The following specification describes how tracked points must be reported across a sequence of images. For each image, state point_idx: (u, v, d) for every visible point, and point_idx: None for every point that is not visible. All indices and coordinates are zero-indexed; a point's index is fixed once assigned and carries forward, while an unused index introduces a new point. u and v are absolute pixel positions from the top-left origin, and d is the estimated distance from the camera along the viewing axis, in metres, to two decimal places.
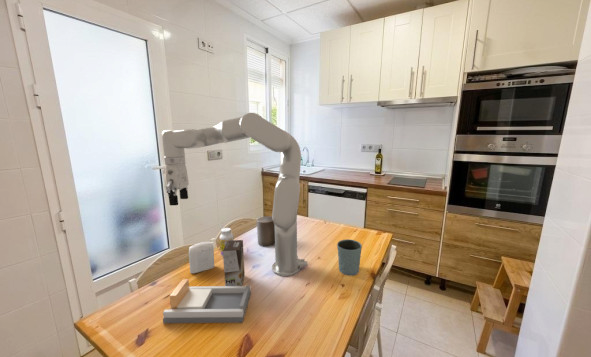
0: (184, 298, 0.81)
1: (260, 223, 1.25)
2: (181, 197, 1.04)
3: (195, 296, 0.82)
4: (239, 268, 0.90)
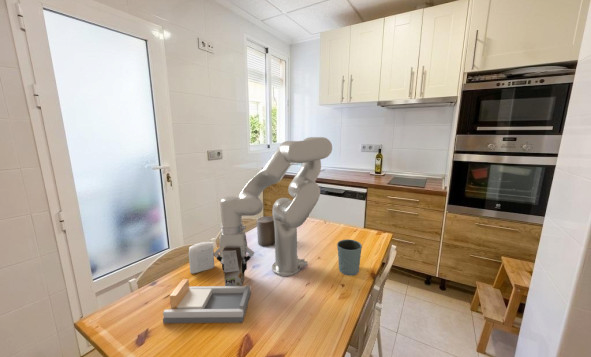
0: (184, 298, 0.81)
1: (260, 223, 1.25)
2: None
3: (195, 296, 0.82)
4: (239, 268, 0.90)
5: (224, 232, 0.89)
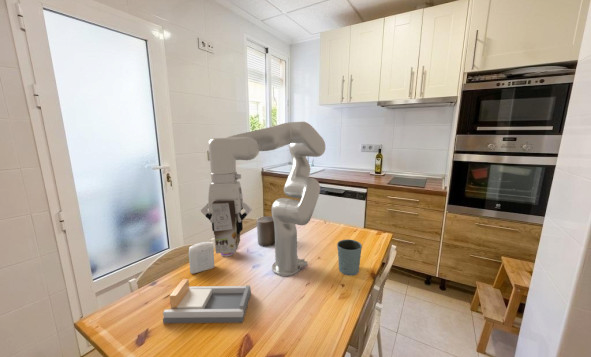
0: (184, 298, 0.81)
1: (260, 223, 1.25)
2: None
3: (195, 296, 0.82)
4: (233, 226, 0.73)
5: (214, 180, 0.71)
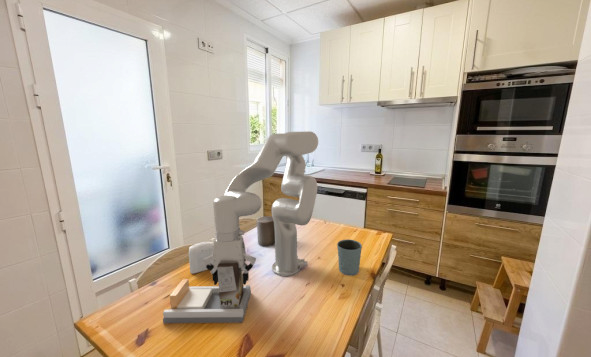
0: (184, 298, 0.81)
1: (260, 223, 1.25)
2: (216, 282, 0.79)
3: (195, 296, 0.82)
4: (236, 287, 0.76)
5: (218, 238, 0.74)
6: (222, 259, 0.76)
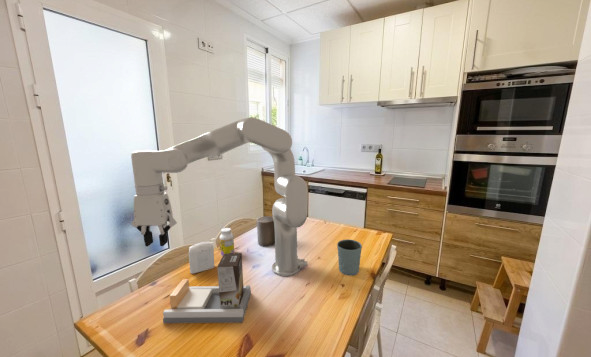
0: (184, 298, 0.81)
1: (260, 223, 1.25)
2: (148, 243, 0.77)
3: (195, 296, 0.82)
4: (236, 287, 0.76)
5: (137, 192, 0.72)
6: (143, 215, 0.74)
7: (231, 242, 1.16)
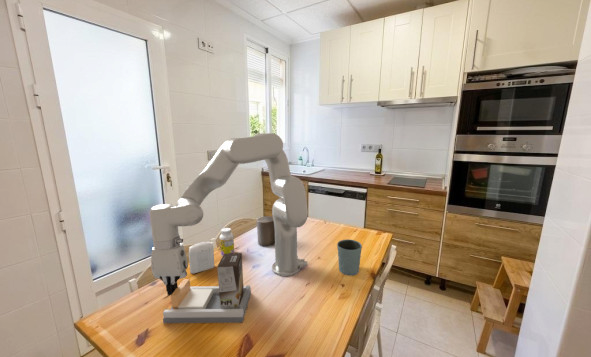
0: (185, 298, 0.81)
1: (260, 223, 1.25)
2: None
3: (196, 296, 0.82)
4: (236, 287, 0.76)
5: (154, 247, 0.75)
6: (160, 267, 0.77)
7: (231, 242, 1.16)
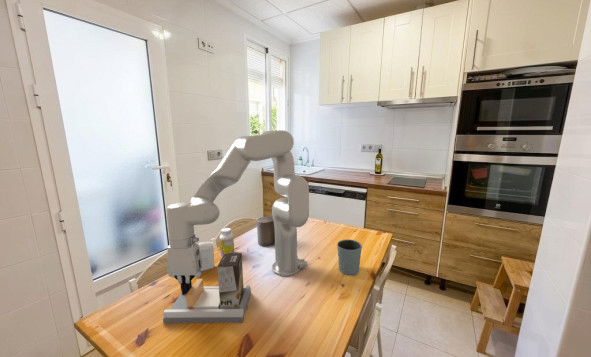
0: (199, 298, 0.81)
1: (260, 223, 1.25)
2: None
3: (210, 296, 0.82)
4: (236, 287, 0.76)
5: (171, 245, 0.75)
6: (176, 266, 0.77)
7: (231, 242, 1.16)
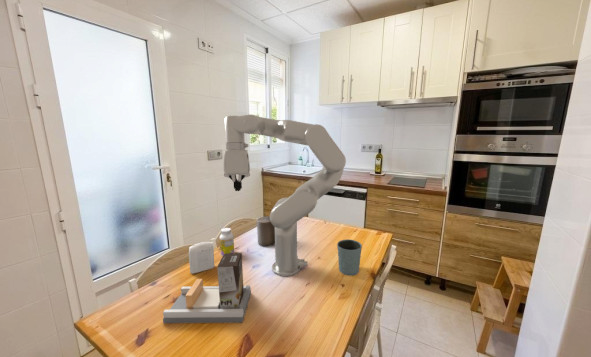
0: (199, 298, 0.81)
1: (260, 223, 1.25)
2: None
3: (210, 296, 0.82)
4: (236, 287, 0.76)
5: (228, 147, 0.95)
6: (231, 165, 0.97)
7: (231, 242, 1.16)
